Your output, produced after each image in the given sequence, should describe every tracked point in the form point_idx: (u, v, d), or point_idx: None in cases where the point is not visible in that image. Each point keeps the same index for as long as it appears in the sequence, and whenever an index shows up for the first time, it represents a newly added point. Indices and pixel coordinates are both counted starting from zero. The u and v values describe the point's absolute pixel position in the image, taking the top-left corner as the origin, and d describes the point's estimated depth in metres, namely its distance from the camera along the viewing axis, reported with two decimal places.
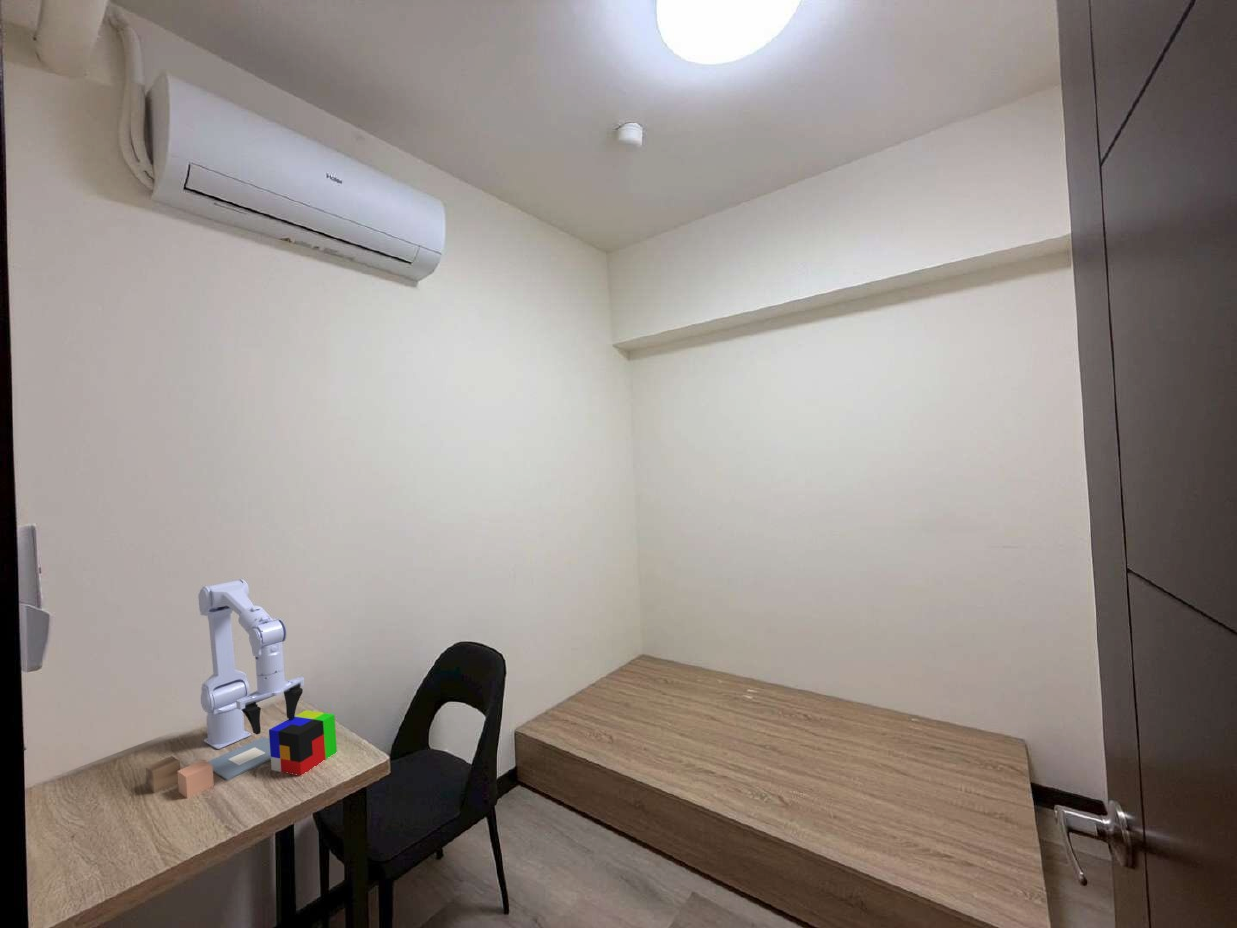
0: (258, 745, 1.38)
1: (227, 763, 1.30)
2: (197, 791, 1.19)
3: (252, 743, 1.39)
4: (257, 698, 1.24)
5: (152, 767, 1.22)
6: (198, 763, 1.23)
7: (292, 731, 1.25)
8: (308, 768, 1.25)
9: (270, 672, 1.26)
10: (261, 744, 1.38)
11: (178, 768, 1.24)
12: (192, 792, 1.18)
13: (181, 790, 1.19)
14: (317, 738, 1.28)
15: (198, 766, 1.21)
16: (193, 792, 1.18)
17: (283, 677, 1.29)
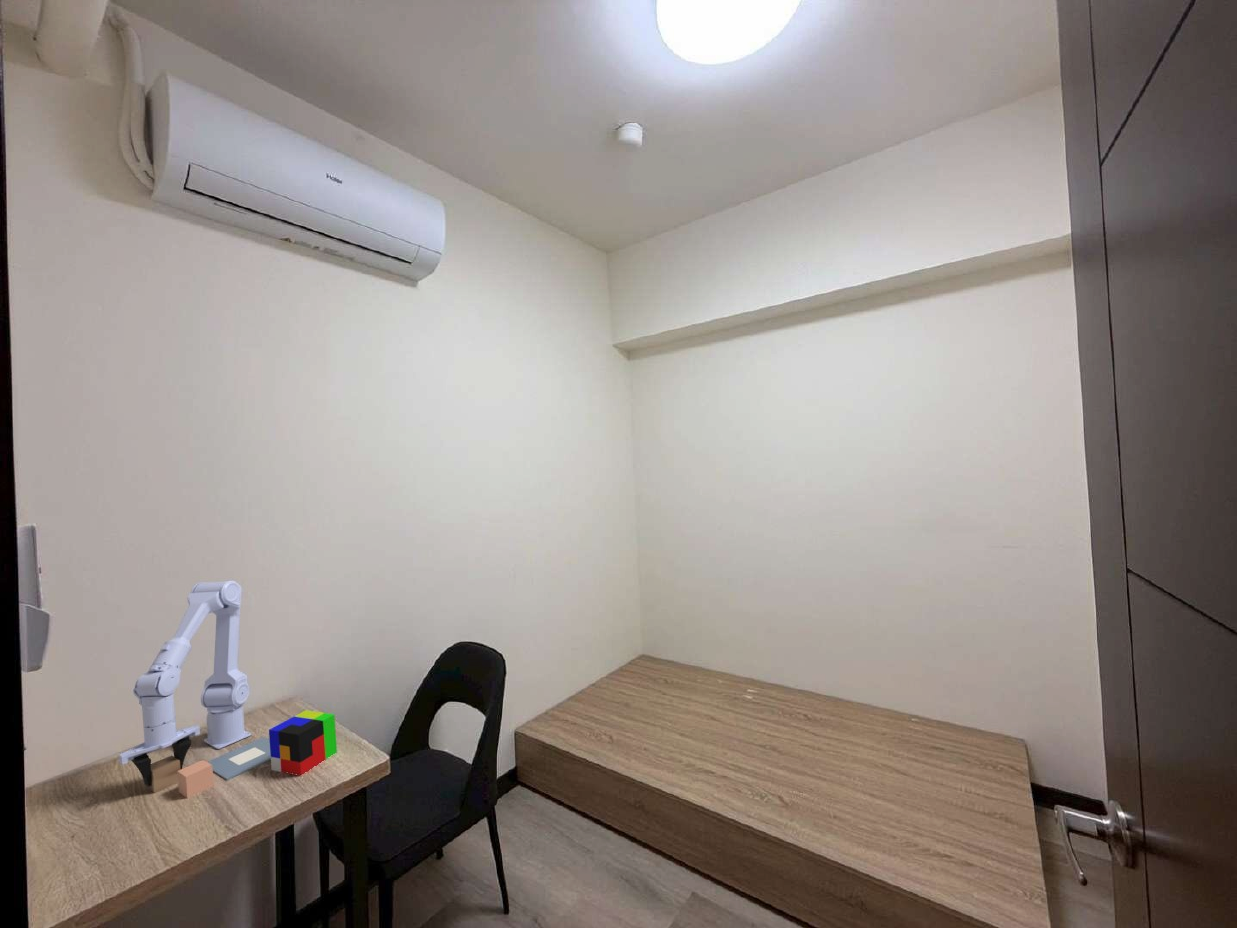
0: (258, 745, 1.38)
1: (227, 763, 1.30)
2: (197, 791, 1.19)
3: (252, 743, 1.39)
4: (142, 751, 1.19)
5: (152, 767, 1.22)
6: (198, 763, 1.23)
7: (292, 732, 1.25)
8: (308, 768, 1.25)
9: (144, 725, 1.21)
10: (261, 744, 1.38)
11: (178, 768, 1.24)
12: (192, 792, 1.18)
13: (181, 790, 1.19)
14: (317, 738, 1.28)
15: (198, 766, 1.21)
16: (193, 792, 1.18)
17: (173, 728, 1.24)
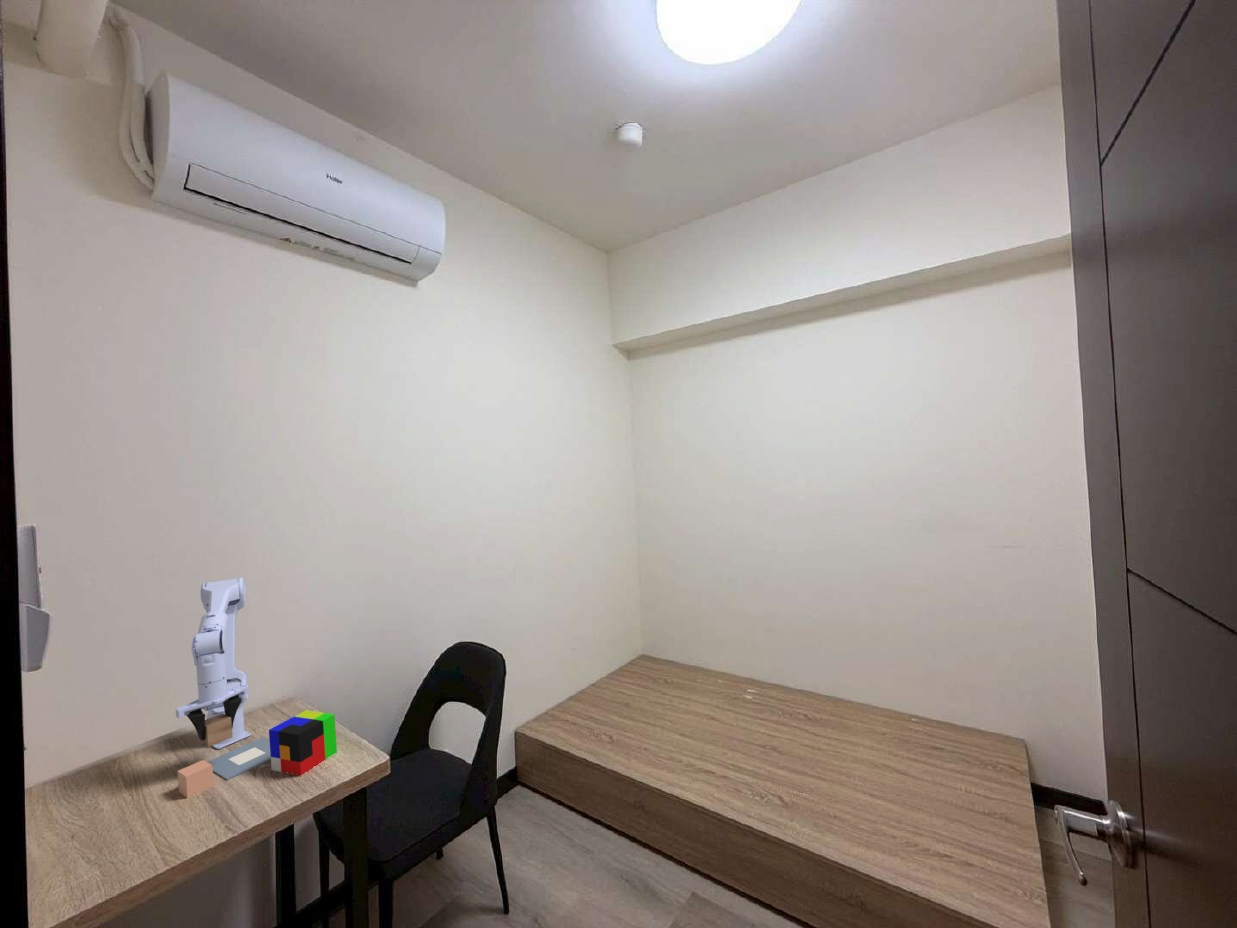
0: (258, 745, 1.38)
1: (227, 763, 1.30)
2: (197, 791, 1.19)
3: (252, 743, 1.39)
4: (197, 707, 1.25)
5: (205, 722, 1.28)
6: (198, 763, 1.23)
7: (292, 731, 1.25)
8: (308, 768, 1.25)
9: (204, 682, 1.27)
10: (261, 744, 1.38)
11: (229, 724, 1.30)
12: (192, 792, 1.18)
13: (181, 790, 1.19)
14: (317, 738, 1.28)
15: (198, 766, 1.21)
16: (193, 792, 1.18)
17: (225, 686, 1.30)
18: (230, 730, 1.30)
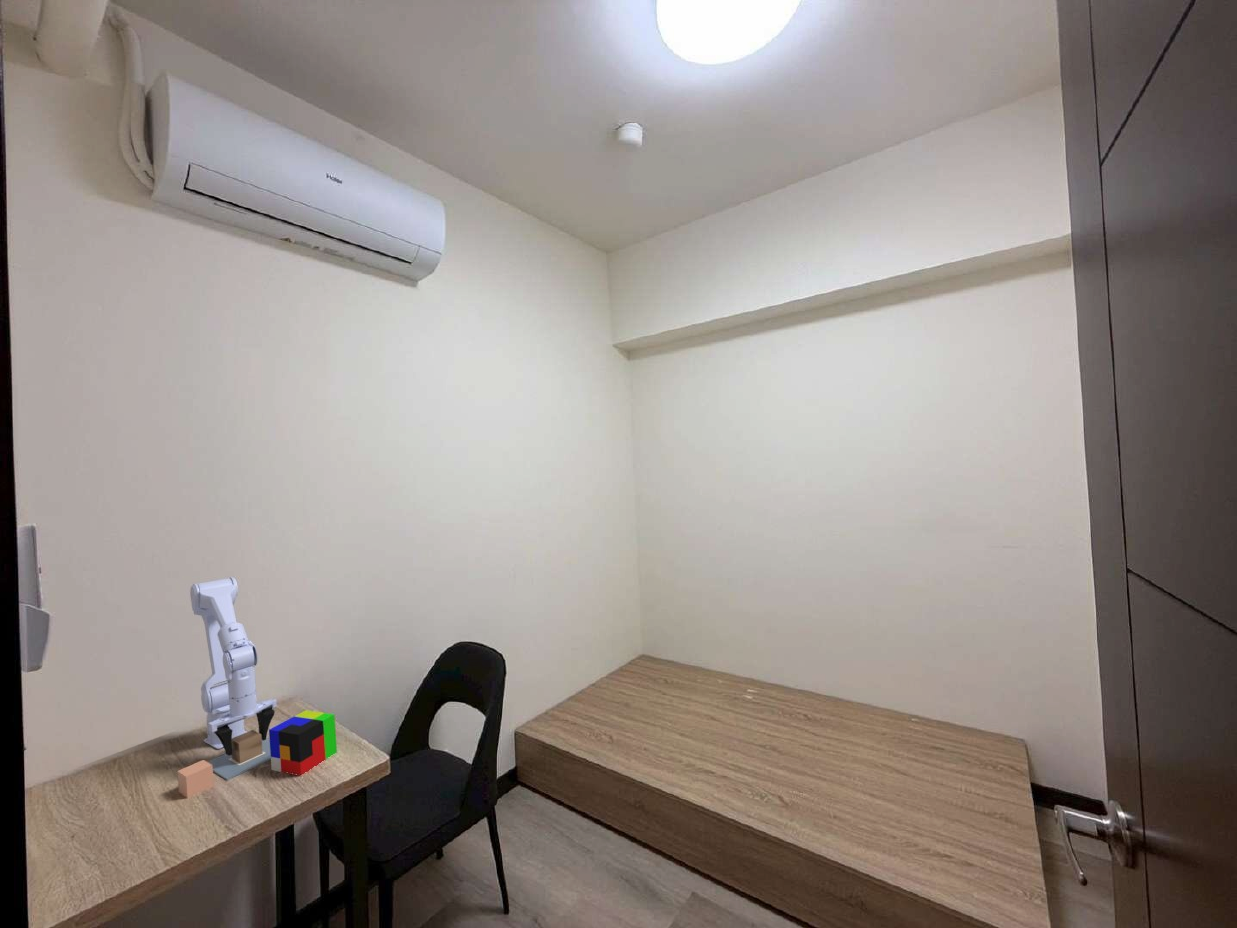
0: None
1: (227, 763, 1.30)
2: (197, 791, 1.19)
3: None
4: (229, 721, 1.29)
5: (237, 739, 1.32)
6: (198, 763, 1.23)
7: (292, 731, 1.25)
8: (308, 768, 1.25)
9: (240, 696, 1.30)
10: None
11: (260, 741, 1.33)
12: (192, 792, 1.18)
13: (181, 790, 1.19)
14: (317, 738, 1.28)
15: (198, 766, 1.21)
16: (193, 792, 1.18)
17: (255, 699, 1.33)
18: (260, 746, 1.33)
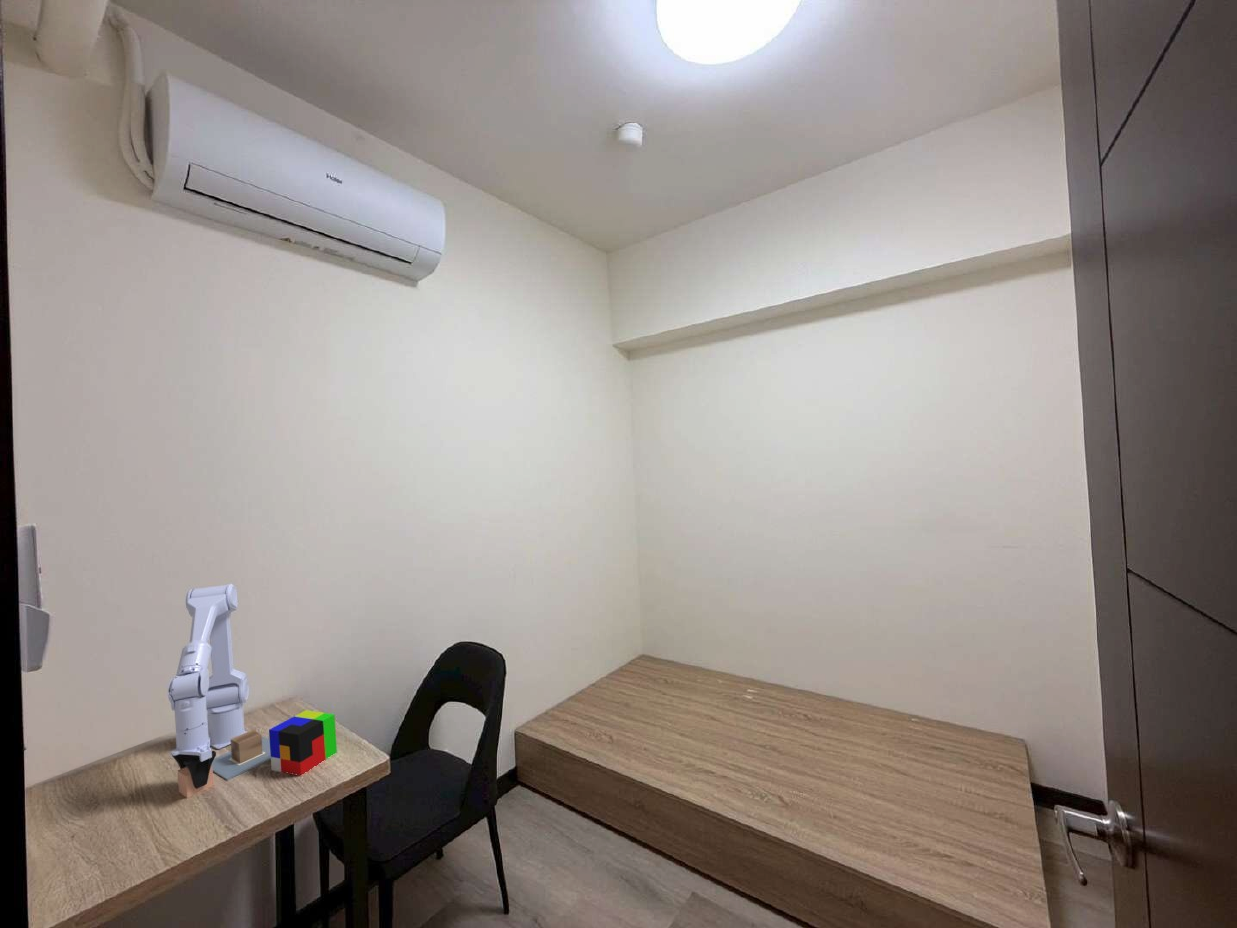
0: None
1: (227, 763, 1.30)
2: (197, 790, 1.19)
3: None
4: None
5: (237, 739, 1.32)
6: None
7: (292, 731, 1.25)
8: (308, 768, 1.25)
9: (181, 729, 1.18)
10: None
11: (260, 741, 1.33)
12: (192, 792, 1.18)
13: (181, 790, 1.19)
14: (317, 738, 1.28)
15: None
16: (193, 792, 1.18)
17: (184, 739, 1.18)
18: (260, 746, 1.33)
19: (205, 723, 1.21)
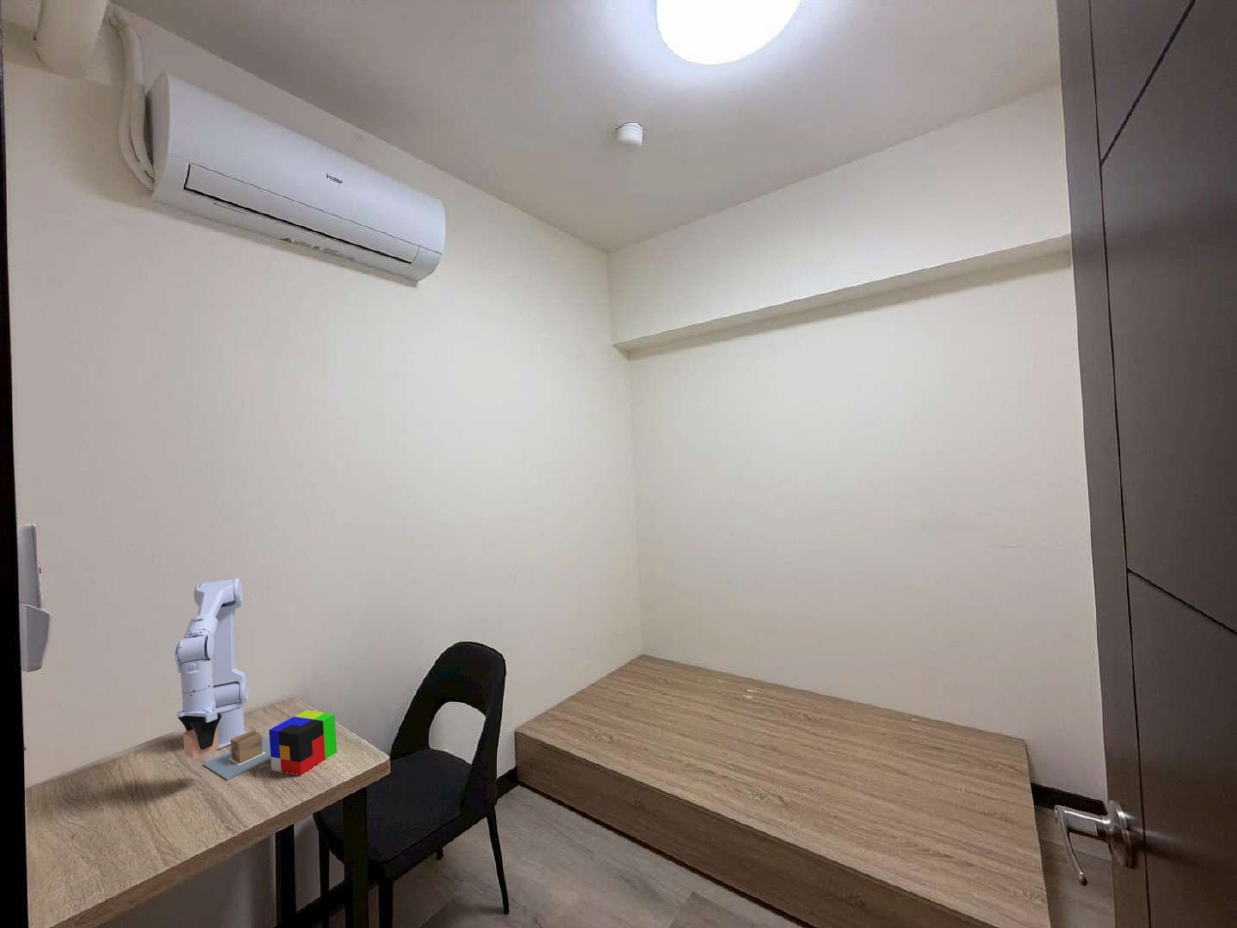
0: None
1: (227, 763, 1.30)
2: (203, 752, 1.21)
3: None
4: None
5: (237, 739, 1.32)
6: None
7: (292, 732, 1.25)
8: (308, 768, 1.25)
9: (188, 690, 1.20)
10: None
11: (260, 741, 1.33)
12: (197, 753, 1.20)
13: (187, 751, 1.21)
14: (317, 738, 1.28)
15: None
16: (198, 753, 1.20)
17: (190, 701, 1.20)
18: (260, 746, 1.33)
19: (210, 686, 1.23)
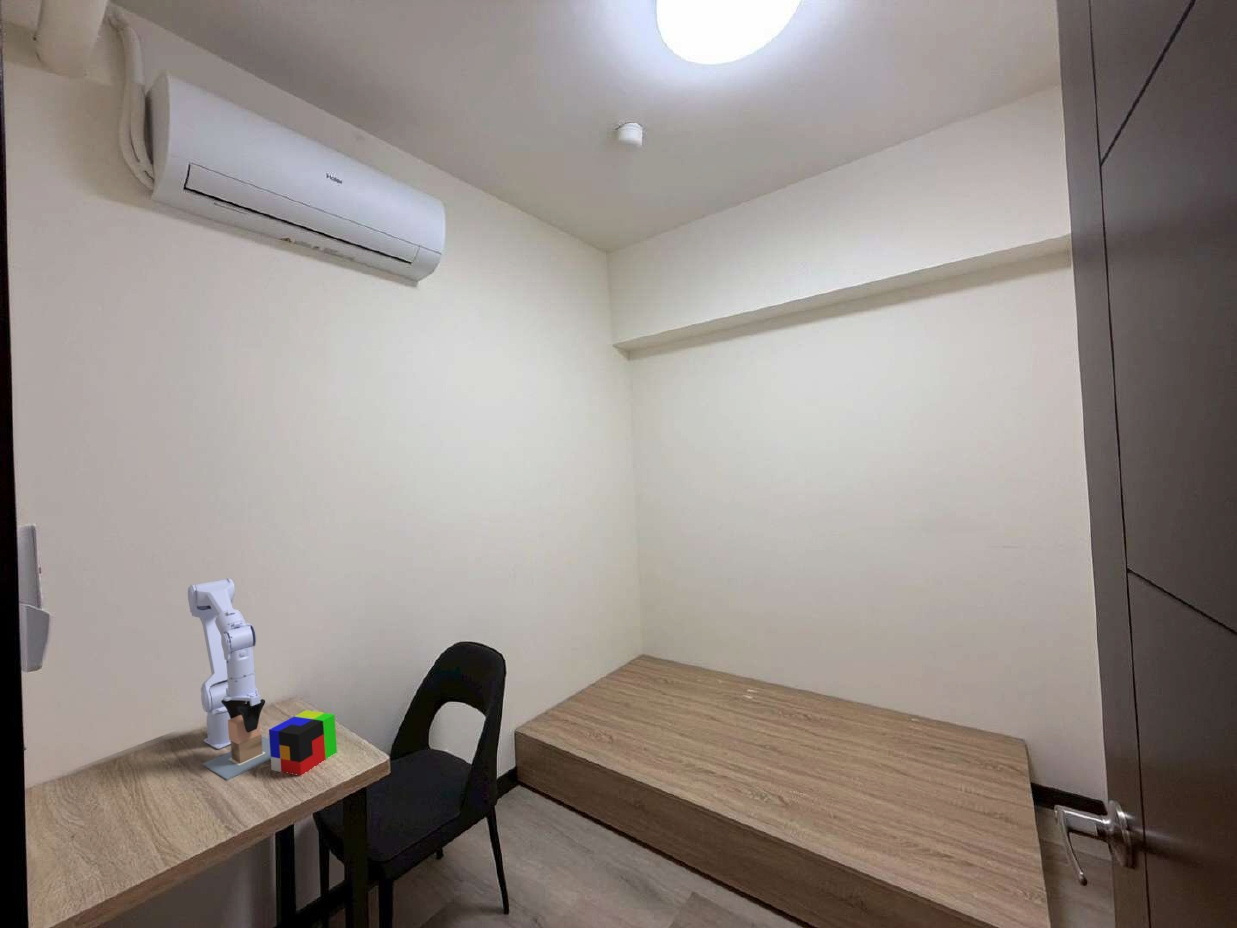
0: None
1: (227, 763, 1.30)
2: (246, 738, 1.31)
3: None
4: None
5: None
6: None
7: (292, 731, 1.25)
8: (308, 768, 1.25)
9: (239, 676, 1.30)
10: None
11: (260, 741, 1.33)
12: (242, 738, 1.30)
13: (231, 737, 1.31)
14: (317, 738, 1.28)
15: None
16: (242, 738, 1.30)
17: (236, 686, 1.30)
18: (260, 746, 1.33)
19: (253, 673, 1.33)
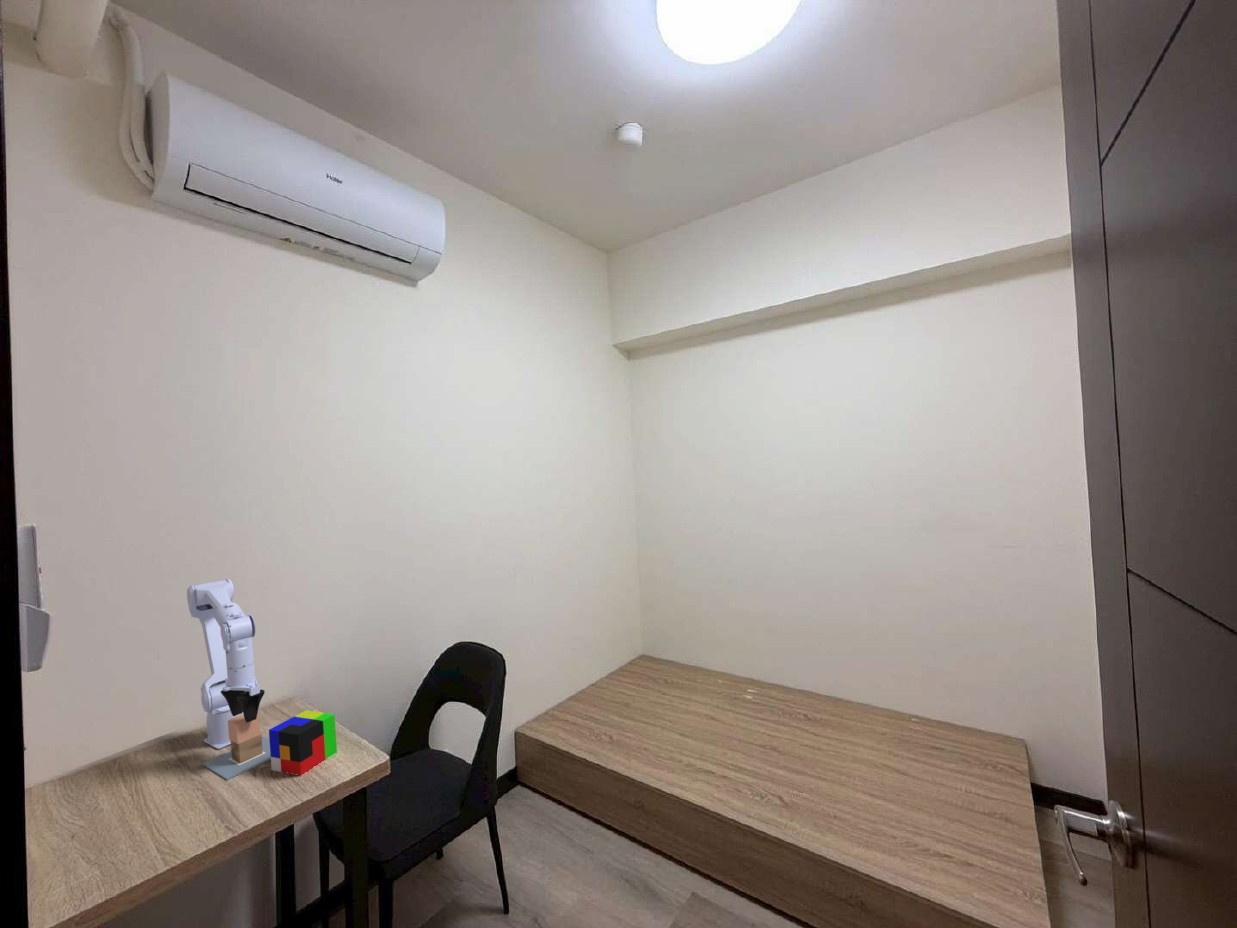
0: None
1: (227, 763, 1.30)
2: (246, 738, 1.31)
3: None
4: (227, 683, 1.33)
5: None
6: None
7: (292, 732, 1.25)
8: (308, 768, 1.25)
9: (238, 666, 1.30)
10: None
11: (260, 741, 1.33)
12: (242, 738, 1.30)
13: (231, 737, 1.31)
14: (317, 738, 1.28)
15: None
16: (242, 738, 1.30)
17: (235, 677, 1.30)
18: (260, 746, 1.33)
19: (252, 663, 1.33)
